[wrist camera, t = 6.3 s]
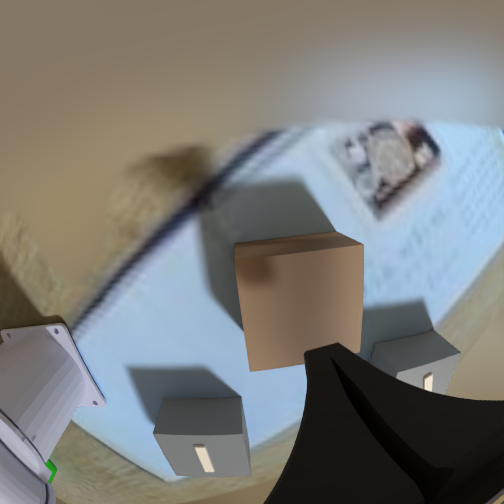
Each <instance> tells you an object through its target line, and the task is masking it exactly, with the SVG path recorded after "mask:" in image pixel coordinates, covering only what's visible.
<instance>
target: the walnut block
mask: <svg viewBox="0 0 504 504" xmlns="http://www.w3.org/2000/svg"><path fill="white" fill-rule="evenodd" d="M234 266H235V273H236V280H237V288H238V295H239V302H240V309H241V315H242V322H243V329H244V336H245V342H246V349H247V355H248V362H249V368H250V372H252V371H260V370H268V369H275V368H282V367H289V366H295V365H301V364H305V362H304V355H303V354H304V353H305V352H306V351H307V350H311V349H315V348H319V347H323V346H326V345H330V344H333V343H337V342H339V343H340V344H342V345H343V346H345V347H346V348H347V349H349V350H350V351H352V352H353V353H359V352H360V344H361V331H362V315H363V291H364V244H362V243H360V242H358V241H356V240H354V239H351V238H349V237H347V236H345V235H343V234H341V233H339V232H337V231H335V232H326V233H317V234H309V235H300V236H292V237H283V238H275V239H267V240H258V241H250V242H242V243H235V248H234Z"/></svg>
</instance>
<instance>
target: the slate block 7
mask: <svg viewBox="0 0 504 504" xmlns="http://www.w3.org/2000/svg"><path fill="white" fill-rule="evenodd" d="M460 354H461V352H460V351H459V350H457V349H456V348H455V347H454V346H453V345H451V344H450V343H449V342H448V341H447V340H445V339H444V338H443V337H442V336H441V335H439V334H438V333H437V332H436V331H430V332H426V333H421V334H417V335H413V336H408V337H403V338H399V339H394V340H389V341H383V342H378V343H374V346H373V350H372V355H371V360H370V364H371V365H373V366H375V367H376V368H378V369H380V370H382V371H383V372H385V373H387V374H389V375H391V376H393V377H395V378H397V379H399V380H401V381H404V382H406V383H408V384H411V385H414V386H416V387H419V388H422V389H425V390H428V391H431V392H435V393H439V394H443V395H444V394H445V392H446V390H447V387H448V385H449V382H450V380H451V378H452V375H453V372H454V370H455V368H456V365H457V362H458V360H459V357H460Z"/></svg>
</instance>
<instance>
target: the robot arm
mask: <svg viewBox="0 0 504 504" xmlns="http://www.w3.org/2000/svg"><path fill="white" fill-rule="evenodd" d="M57 330H58V331H57ZM1 336H2V339H3V341H4V342H3V343H2V344H1V345H0V504H55V503H56V500H55V493H54V490H53V487H52V486H51V484H50V483H49V482H48V480H49V478H50V476H51V474H52V472H51V471H50V470H49V469H48V468H47V467H46V465H45V464H46V462H47V461H48V459H49V457H50V455H51V453H52V451H53V450H54V448H55V446H56V444H57V442H58V441H59V439H60V437H61V435H62V434H63V432H64V430H65V429H66V427H67V425H68V423H69V422H70V420H71V418H72V417H73V415H74V413H75V412H76V410H77V408H78V407H79V406H91V407H104V406H105V405H106V401H105V399H104V398H103V396H102V394H101V393H100V391H99V389H98V388H97V386H96V384H95V382H94V381H93V379H92V377H91V375H90V374H89V372H88V370H87V368H86V366H85V364H84V362H83V361H82V359H81V357H80V355H79V353H78V351H77V349H76V347H75V344H74V342H73V340H72V338H71V336H70V334H69V332H68V329H67V327H66V326H65V325H64V324H63V323H54V324H46V325H38V326H30V327H22V328H13V329H3V330H2V331H1ZM303 355H304V362H305V369H306V376H307V393H306V400H305V407H304V412H303V417H302V421H301V425H300V429H299V432H298V435H297V438H296V441H295V444H294V447H293V449H292V452H291V454H290V457H289V459H288V461H287V463H286V465H285V467H284V470H283V472H282V474H281V476H280V478H279V479H278V481H277V483H276V485H275V486H274V488H273V490H272V491H271V493H270V494H269V496H268V498H267V499H266V501H265V502H264V504H493V503H494V502H495V501H496V500H497V499H499V498H500V497H501V496H502V495H503V494H504V400H503V401H490V400H488V401H487V400H472V399H464V398H457V397H452V396H447V395H443V394H439V393H435V392H431V391H428V390H425V389H422V388H419V387H416V386H414V385H411V384H408V383H406V382H404V381H401V380H399V379H397V378H395V377H393V376H391V375H389V374H387V373H385V372H383V371H382V370H380V369H378V368H376V367H375V366H373V365H371V364H370V363H368V362H367V361H365V360H363V359H362V358H360V357H359V356H357V355H356V354H355V353H353V352H352V351H350V350H349V349H347V348H346V347H345V346H343V345H342V344H340V343H339V342H337V343H333V344H330V345H326V346H323V347H319V348H315V349H311V350H307V351H306V352H305V353H304V354H303ZM501 504H504V501H503V502H502V503H501Z"/></svg>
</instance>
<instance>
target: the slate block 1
mask: <svg viewBox="0 0 504 504" xmlns="http://www.w3.org/2000/svg"><path fill="white" fill-rule="evenodd" d="M153 435H154V437H155V439H156V441H157V443H158V444H159V446H160V448H161V450H162V452H163V454H164V455H165V457H166V459H167V461H168V462H169V464H170V466H171V467H172V469H173V471H174V472H175V474H176V475H177V476H195V477H234V476H251V465H250V450H249V439H248V433H247V427H246V422H245V416H244V410H243V404H242V397H227V398H204V399H163V401H162V404H161V408H160V411H159V414H158V418H157V421H156V424H155V428H154V431H153Z"/></svg>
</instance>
